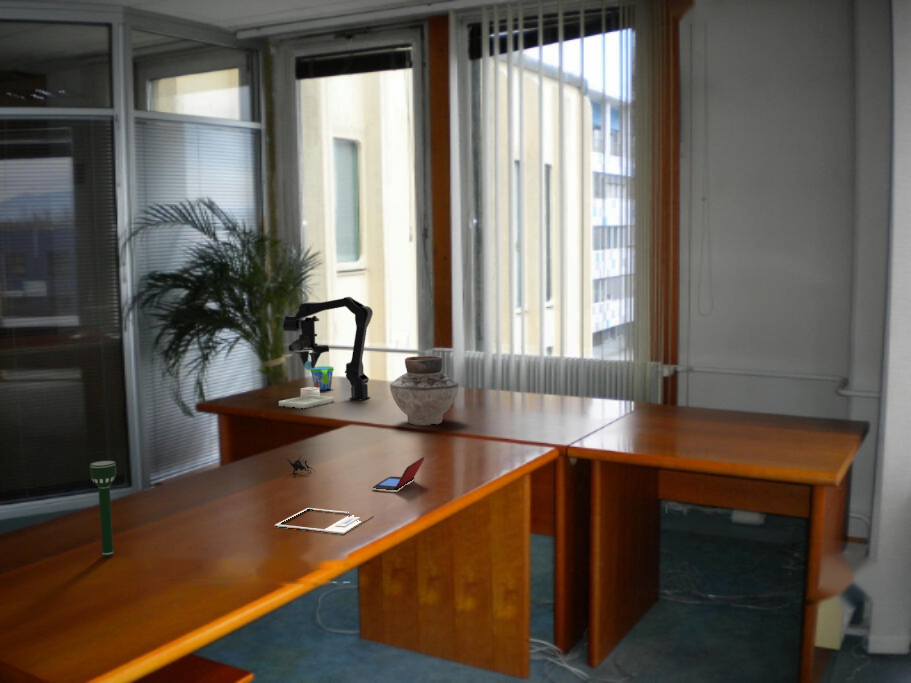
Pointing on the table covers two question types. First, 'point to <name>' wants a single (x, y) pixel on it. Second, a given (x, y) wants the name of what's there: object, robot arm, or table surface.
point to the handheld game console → (398, 482)
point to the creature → (300, 466)
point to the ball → (308, 365)
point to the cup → (310, 391)
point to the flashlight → (104, 500)
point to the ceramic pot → (424, 390)
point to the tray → (306, 401)
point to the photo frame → (338, 527)
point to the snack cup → (322, 377)
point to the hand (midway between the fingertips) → (309, 368)
